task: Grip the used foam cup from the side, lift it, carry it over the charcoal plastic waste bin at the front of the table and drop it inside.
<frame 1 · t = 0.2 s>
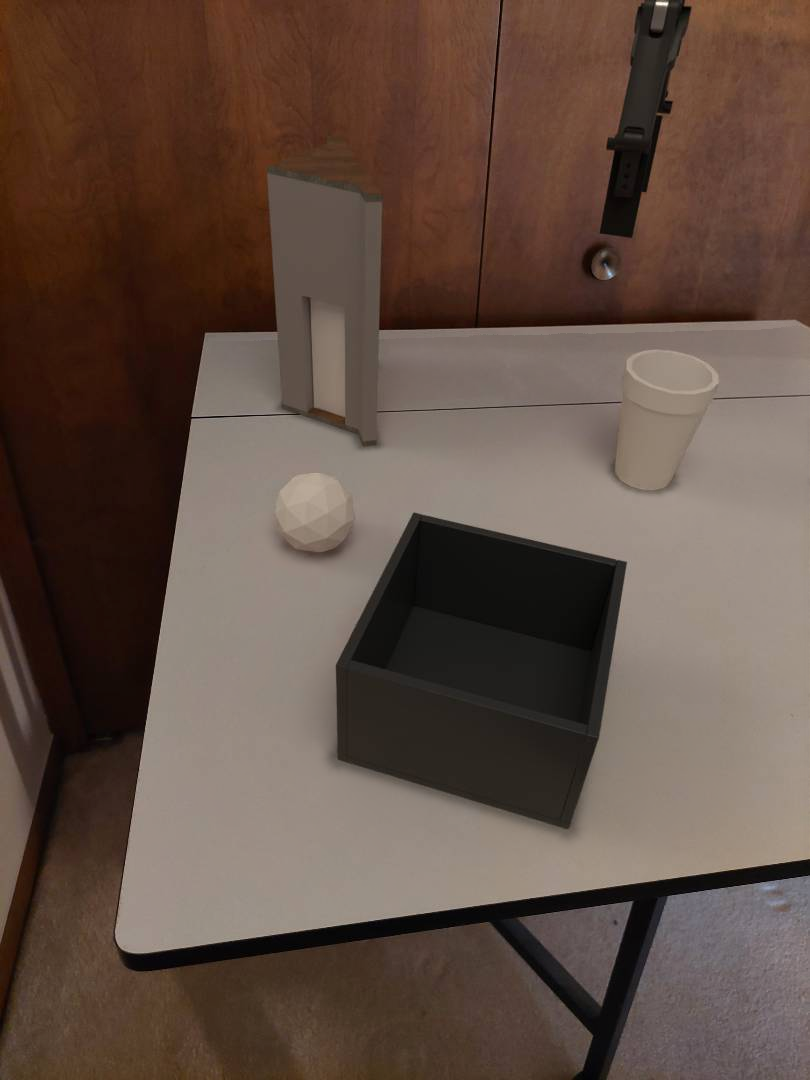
hand: (624, 211, 72), 29 cm above the table, tool pointing down, fingers open, 13 cm apart
geometric ball: (316, 543, 80), on the table
cabinet: (320, 404, 100), on the table
waste bin: (477, 702, 65), on the table
foam cup: (642, 475, 91), on the table
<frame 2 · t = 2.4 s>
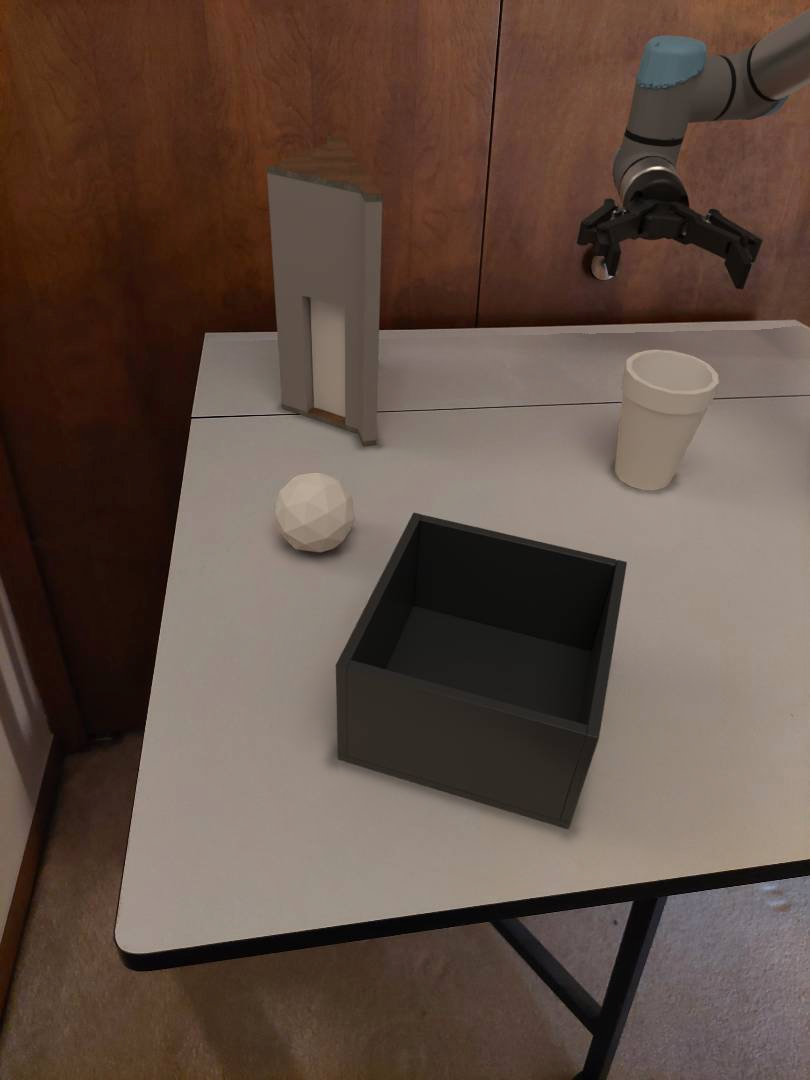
hand: (679, 270, 85), 20 cm above the table, tool horizontal, fingers open, 13 cm apart
nothing on the table moved.
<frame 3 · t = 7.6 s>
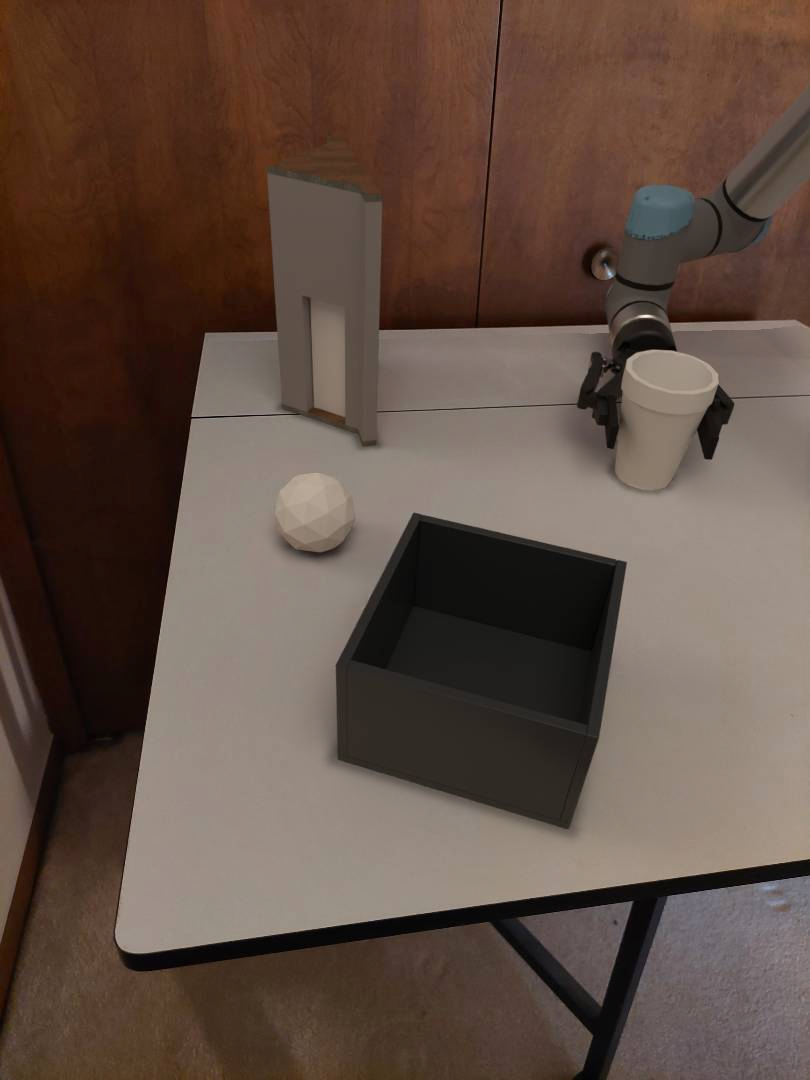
hand: (662, 443, 83), 7 cm above the table, tool horizontal, fingers closed on foam cup, 9 cm apart
foam cup: (642, 475, 91), on the table, touching gripper
everything else where it was.
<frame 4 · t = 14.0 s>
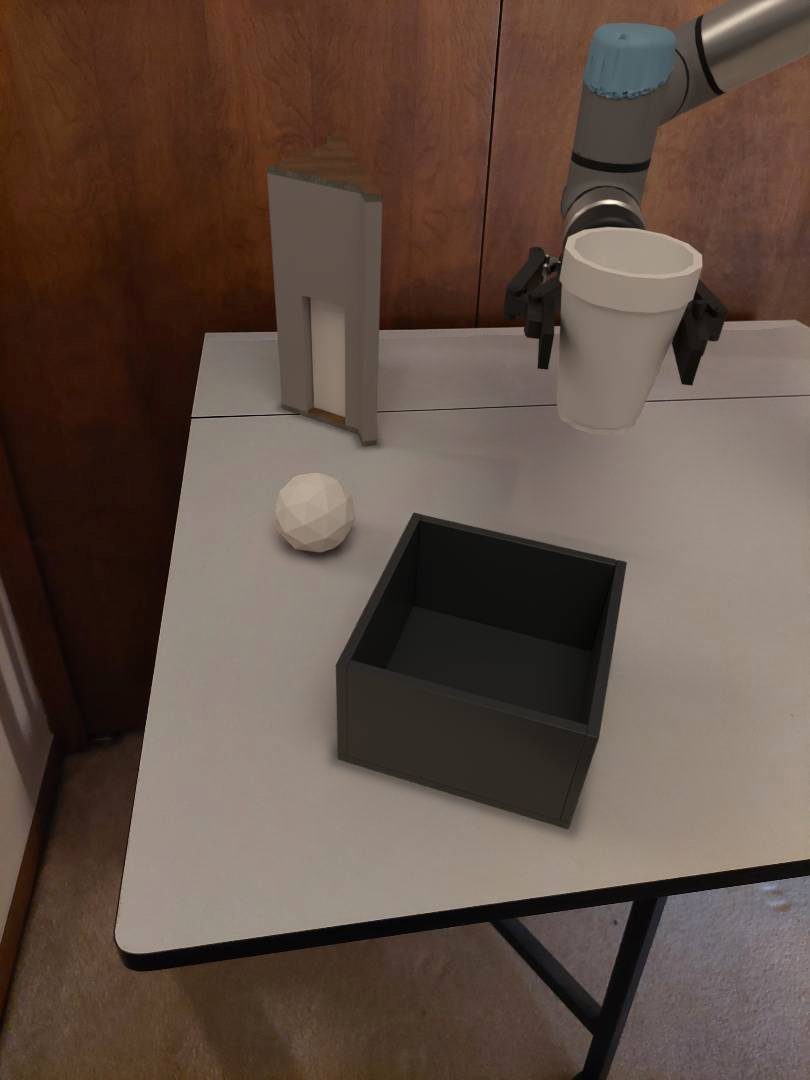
hand: (618, 359, 56), 26 cm above the table, tool horizontal, fingers closed on foam cup, 9 cm apart
foam cup: (595, 415, 64), point 19 cm above the table, touching gripper
everything else where it was.
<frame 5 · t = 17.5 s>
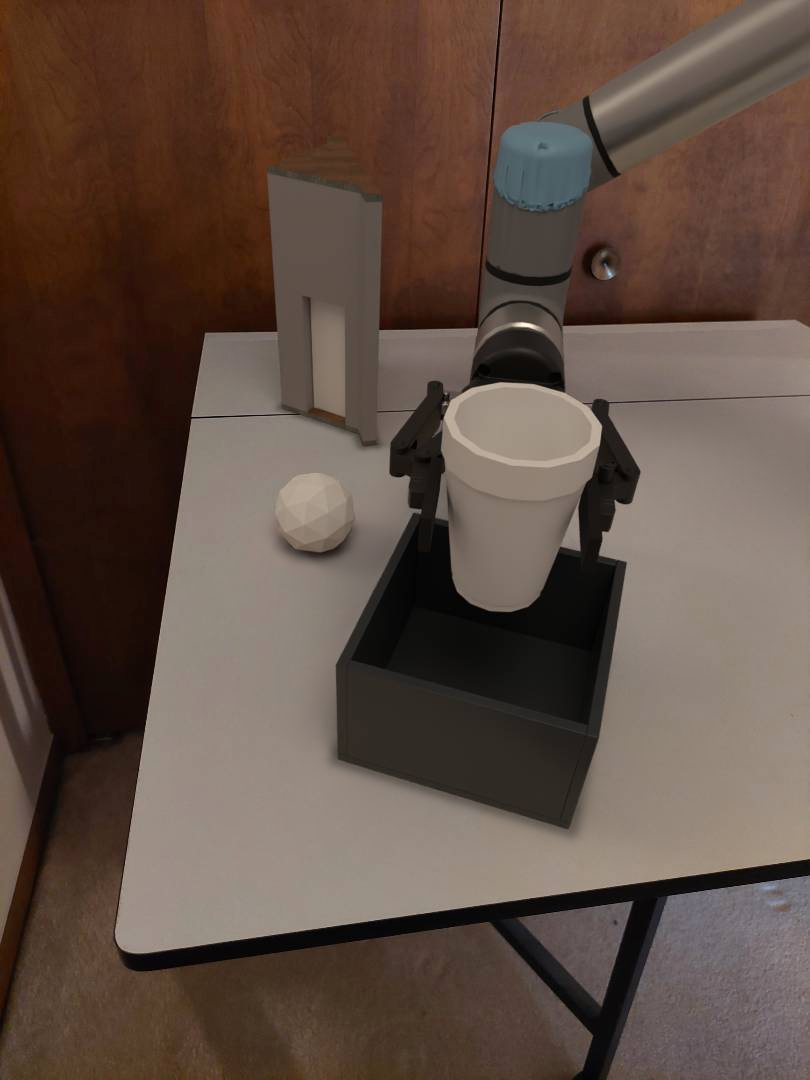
hand: (507, 545, 48), 21 cm above the table, tool horizontal, fingers closed on foam cup, 9 cm apart
foam cup: (496, 582, 56), point 13 cm above the table, touching gripper
everything else where it was.
when the fingers open (12 cm above the table, at t = 20.5 s): foam cup drops 4 cm, resting on waste bin.
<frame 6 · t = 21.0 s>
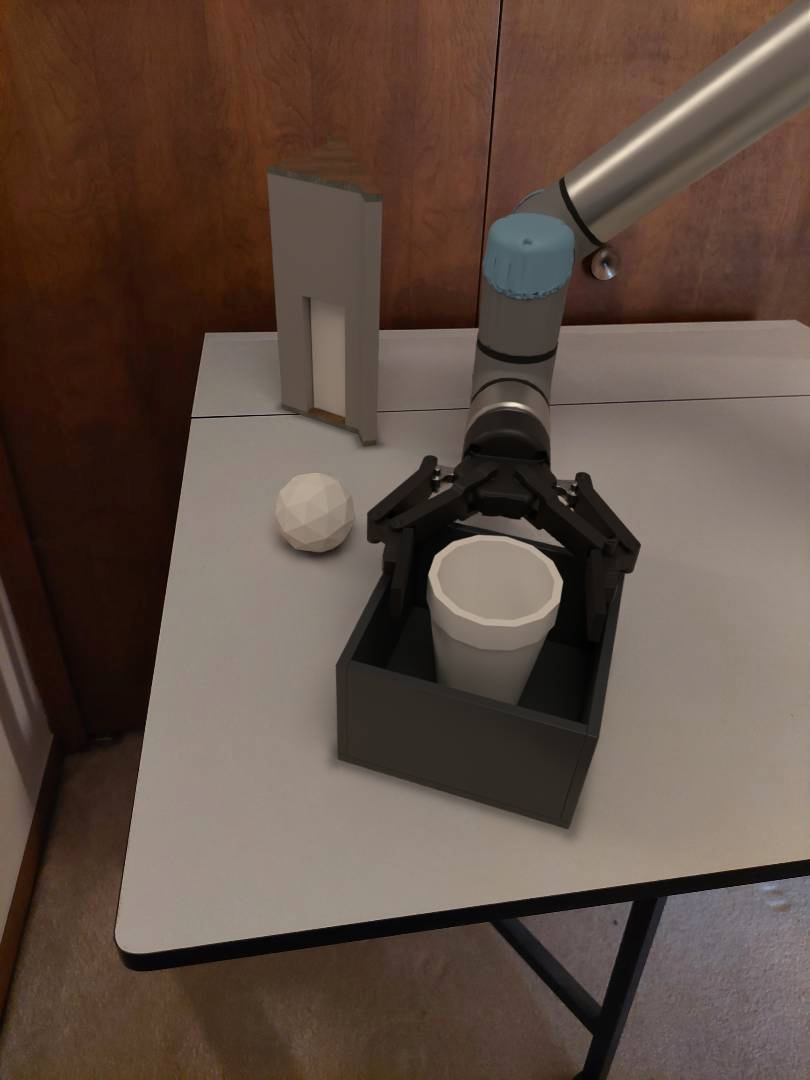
hand: (495, 615, 54), 13 cm above the table, tool horizontal, fingers open, 13 cm apart
foam cup: (477, 697, 65), point 1 cm above the table, touching waste bin
everything else where it was.
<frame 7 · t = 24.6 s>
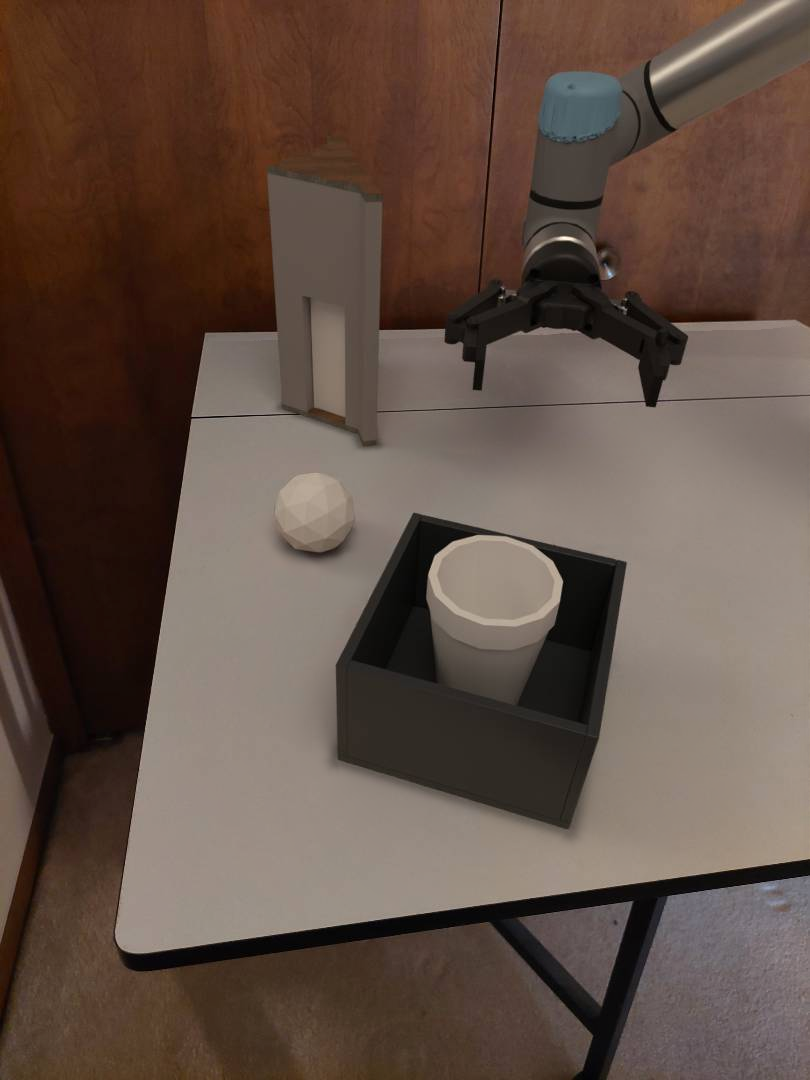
hand: (566, 383, 62), 22 cm above the table, tool horizontal, fingers open, 13 cm apart
nothing on the table moved.
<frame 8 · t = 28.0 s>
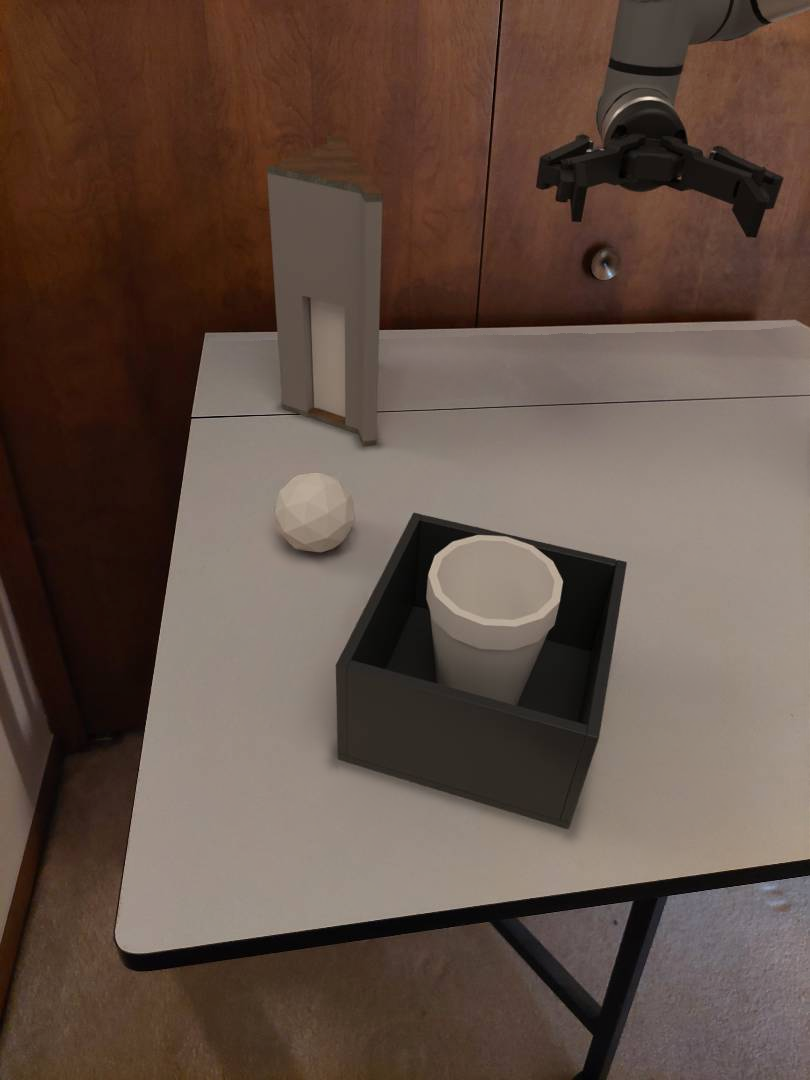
hand: (667, 212, 62), 32 cm above the table, tool horizontal, fingers open, 13 cm apart
nothing on the table moved.
at the end: foam cup inside the target area in the waste bin (0.2 cm from its centre), point 0.6 cm above the waste bin's base; the gripper is holding nothing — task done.
